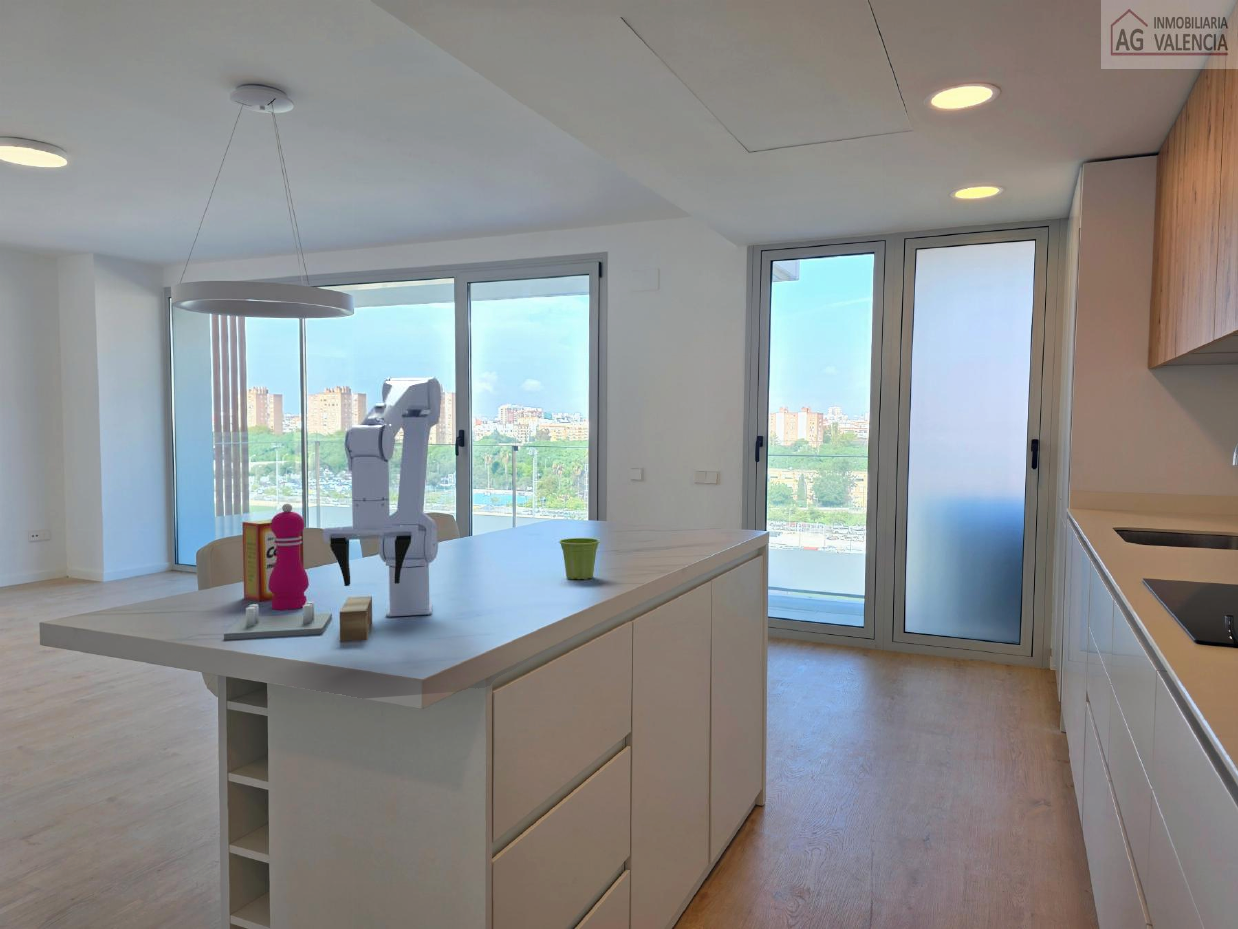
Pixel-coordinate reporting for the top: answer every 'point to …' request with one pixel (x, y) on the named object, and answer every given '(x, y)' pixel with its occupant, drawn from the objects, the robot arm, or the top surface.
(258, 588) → the food box
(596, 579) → the top surface
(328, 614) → the peg stand
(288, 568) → the pepper mill
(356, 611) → the walnut plank
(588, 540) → the plant pot
